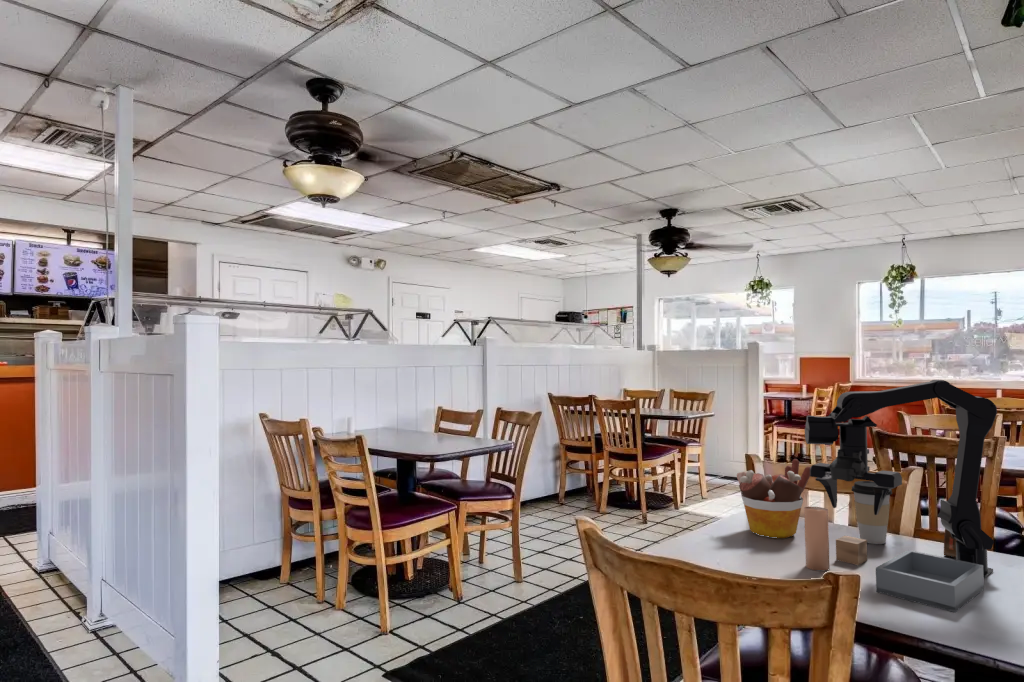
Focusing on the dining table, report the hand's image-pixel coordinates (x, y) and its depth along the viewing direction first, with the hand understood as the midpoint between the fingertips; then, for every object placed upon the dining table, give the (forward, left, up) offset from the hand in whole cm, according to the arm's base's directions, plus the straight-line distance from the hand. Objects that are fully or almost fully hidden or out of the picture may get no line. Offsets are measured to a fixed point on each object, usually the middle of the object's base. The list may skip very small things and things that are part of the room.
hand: (854, 511), depth 149 cm
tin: (-26, +12, -13) cm, 31 cm away
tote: (+6, +17, -12) cm, 22 cm away
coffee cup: (-22, -5, -13) cm, 25 cm away
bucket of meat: (-10, -26, -13) cm, 30 cm away
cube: (-2, -2, -12) cm, 13 cm away
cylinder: (+9, -5, -12) cm, 16 cm away
